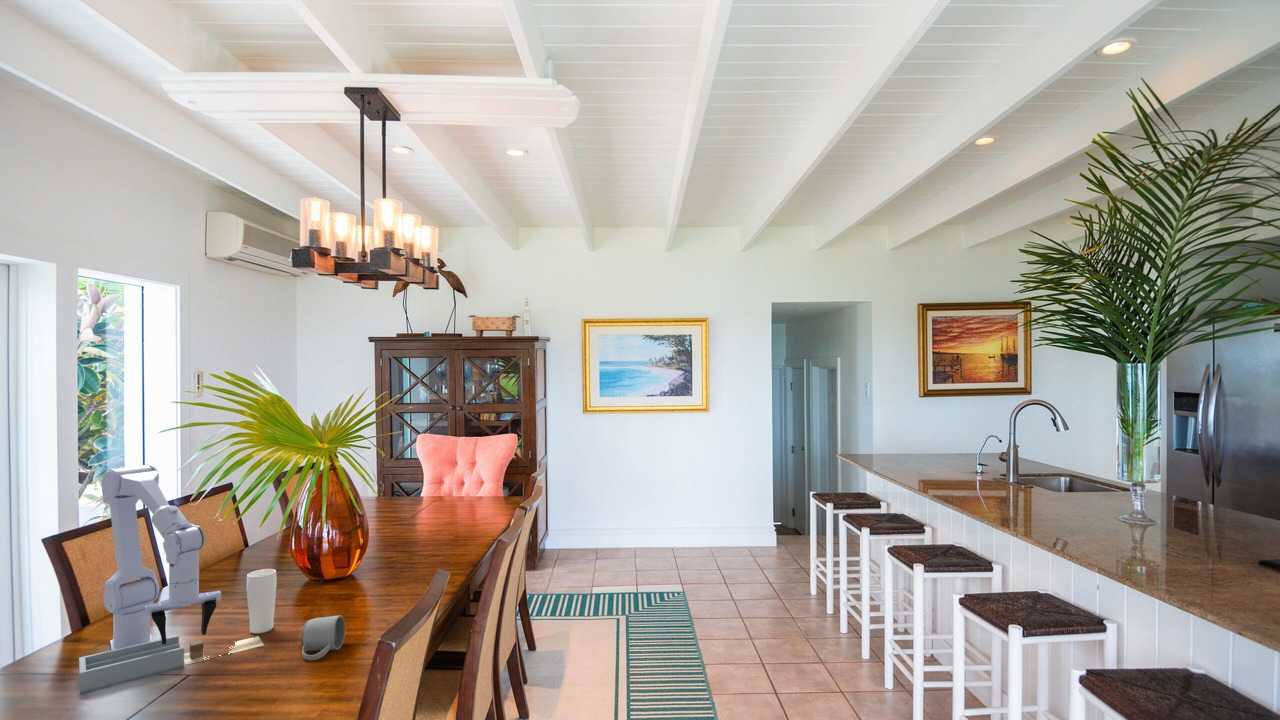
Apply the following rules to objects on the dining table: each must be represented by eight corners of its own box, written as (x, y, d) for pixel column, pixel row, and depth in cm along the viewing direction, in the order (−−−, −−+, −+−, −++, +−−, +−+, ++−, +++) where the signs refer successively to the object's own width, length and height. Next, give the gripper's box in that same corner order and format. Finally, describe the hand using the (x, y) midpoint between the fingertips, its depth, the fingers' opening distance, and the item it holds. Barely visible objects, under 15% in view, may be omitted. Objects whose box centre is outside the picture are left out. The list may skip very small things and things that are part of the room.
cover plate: (181, 657, 154) (181, 641, 154) (258, 638, 165) (258, 623, 165) (185, 667, 149) (185, 650, 149) (264, 647, 159) (264, 631, 159)
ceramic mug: (312, 642, 160) (311, 612, 160) (346, 641, 161) (345, 610, 161) (293, 663, 150) (292, 630, 150) (329, 661, 151) (329, 628, 150)
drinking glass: (243, 630, 169) (243, 572, 169) (272, 623, 173) (272, 567, 173) (250, 637, 164) (250, 578, 164) (280, 630, 168) (279, 572, 169)
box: (79, 677, 143) (79, 657, 143) (178, 653, 155) (178, 634, 155) (79, 694, 136) (79, 673, 136) (183, 667, 148) (183, 648, 148)
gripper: (146, 591, 144) (146, 652, 144) (223, 577, 154) (223, 634, 154) (144, 583, 149) (144, 642, 149) (218, 570, 159) (218, 625, 159)
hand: (184, 638), depth 152 cm, fingers open, 7 cm apart
